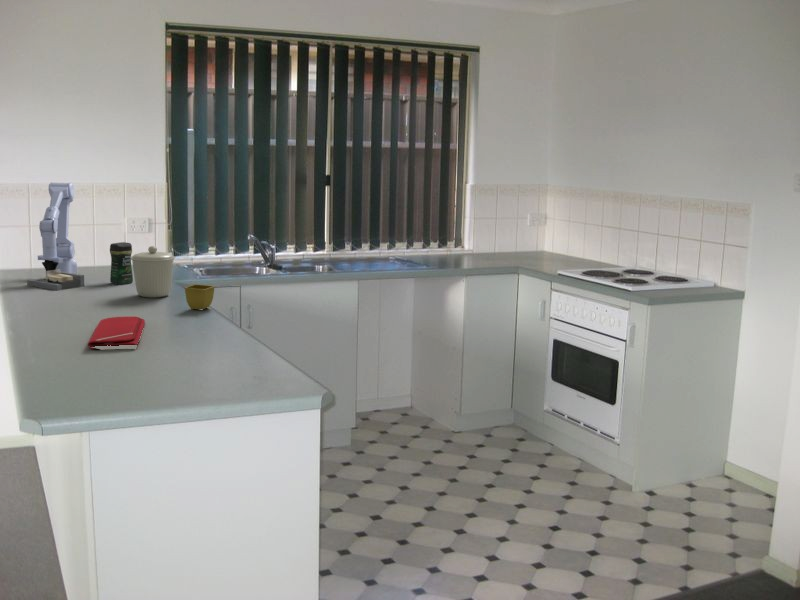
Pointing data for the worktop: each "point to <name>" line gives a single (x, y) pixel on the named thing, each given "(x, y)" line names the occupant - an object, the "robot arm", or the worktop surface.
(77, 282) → the loading dock
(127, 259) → the coffee jar
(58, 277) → the footed beige box
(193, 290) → the flower pot
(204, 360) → the worktop surface
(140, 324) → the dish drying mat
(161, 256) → the canister
